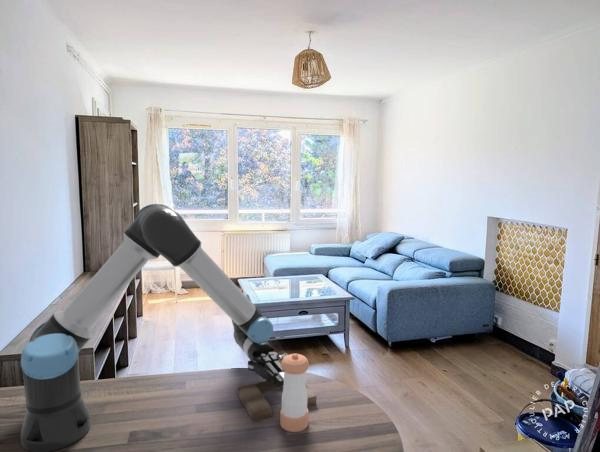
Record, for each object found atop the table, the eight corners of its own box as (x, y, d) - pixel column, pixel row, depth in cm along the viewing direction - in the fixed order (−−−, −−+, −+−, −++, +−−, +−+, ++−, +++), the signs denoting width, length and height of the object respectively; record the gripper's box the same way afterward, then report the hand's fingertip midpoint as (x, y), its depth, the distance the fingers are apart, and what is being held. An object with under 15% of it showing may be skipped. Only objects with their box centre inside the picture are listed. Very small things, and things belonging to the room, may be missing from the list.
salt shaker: (286, 412, 114) (286, 345, 111) (311, 417, 112) (313, 350, 108) (275, 428, 107) (276, 358, 104) (303, 434, 105) (304, 363, 102)
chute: (237, 395, 122) (237, 387, 121) (295, 381, 130) (295, 373, 129) (253, 421, 110) (253, 412, 110) (316, 404, 118) (316, 395, 118)
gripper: (278, 357, 136) (312, 395, 115) (239, 366, 130) (268, 407, 109) (278, 335, 135) (313, 369, 114) (238, 343, 129) (268, 380, 108)
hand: (291, 388), depth 112 cm, fingers closed
